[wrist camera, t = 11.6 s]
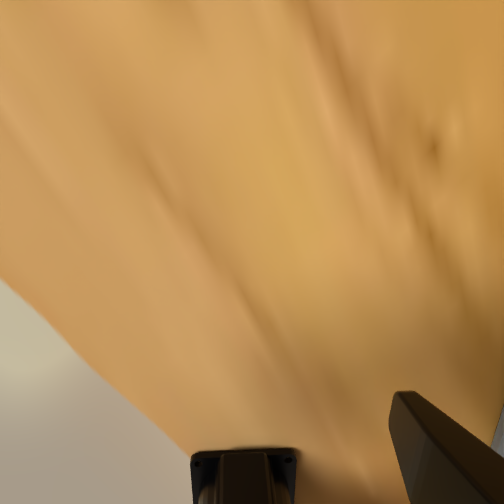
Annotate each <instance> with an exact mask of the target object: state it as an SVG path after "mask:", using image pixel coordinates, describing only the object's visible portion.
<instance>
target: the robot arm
mask: <svg viewBox="0 0 504 504" xmlns="http://www.w3.org/2000/svg"><path fill="white" fill-rule="evenodd" d="M389 430H390V434H391V438H392V441H393V445H394V448H395V452H396V455H397V459H398V462H399V466H400V469H401V473H402V476H403V480H404V483H405V487H406V490H407V494H408V497H409V500H410V503H411V504H504V457H502V456H501V455H500V454H498V453H497V452H496V451H494V450H493V449H492V448H490V447H489V446H488V445H486V444H485V443H484V442H482V441H481V440H480V439H478V438H477V437H476V436H474V435H473V434H471V433H470V432H469V431H467V430H466V429H465V428H463V427H462V426H461V425H459V424H458V423H457V422H455V421H454V420H453V419H451V418H450V417H449V416H447V415H446V414H445V413H443V412H442V411H441V410H439V409H438V408H437V407H435V406H434V405H433V404H431V403H430V402H429V401H427V400H426V399H425V398H423V397H422V396H421V395H419V394H418V393H417V392H415V391H397V392H395V394H394V396H393V400H392V405H391V410H390V415H389ZM287 457H288V458H287ZM198 461H200V462H198ZM296 462H297V459H296V454H295V451H294V450H292V449H272V450H249V451H226V452H204V453H195V454H193V455H192V456H191V461H190V468H191V480H192V493H193V504H294V495H295V478H296Z"/></svg>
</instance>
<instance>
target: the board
mask: <svg viewBox="0 0 504 504" xmlns="http://www.w3.org/2000/svg"><path fill="white" fill-rule="evenodd" d="M491 448H492V449H493V450H494V451H496V452H497V453H498V454H500V455H501V456H502V457H504V406H503V410H502V413H501V416H500V419H499V423H498V426H497V429H496V432H495V435H494V439H493V442H492V445H491Z"/></svg>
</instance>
